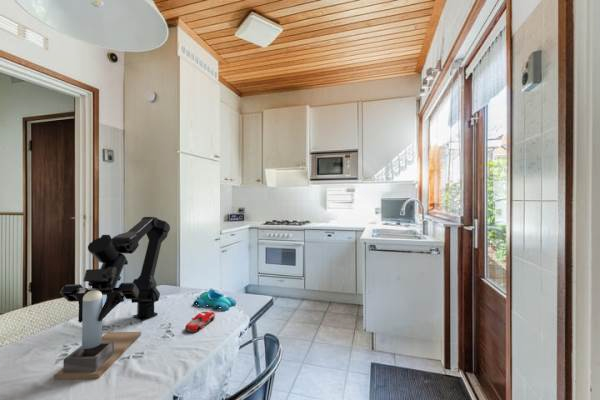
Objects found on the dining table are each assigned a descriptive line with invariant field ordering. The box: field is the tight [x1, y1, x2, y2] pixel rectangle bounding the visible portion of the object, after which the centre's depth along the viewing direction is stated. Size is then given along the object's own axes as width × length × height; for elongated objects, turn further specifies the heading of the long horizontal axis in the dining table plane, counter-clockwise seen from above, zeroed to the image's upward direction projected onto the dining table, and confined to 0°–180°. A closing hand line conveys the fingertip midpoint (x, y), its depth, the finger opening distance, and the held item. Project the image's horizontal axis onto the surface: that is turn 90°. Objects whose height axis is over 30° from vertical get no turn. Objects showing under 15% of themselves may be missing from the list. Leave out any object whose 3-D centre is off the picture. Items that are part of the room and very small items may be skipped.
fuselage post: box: [81, 290, 104, 349], centre depth 74 cm, size 4×4×15 cm
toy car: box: [193, 288, 237, 312], centre depth 119 cm, size 11×18×7 cm, turn 70°
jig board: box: [53, 331, 142, 381], centre depth 80 cm, size 22×11×5 cm, turn 5°
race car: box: [184, 310, 216, 333], centre depth 100 cm, size 13×5×4 cm, turn 162°
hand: (89, 321), depth 73 cm, fingers closed on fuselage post, 4 cm apart
